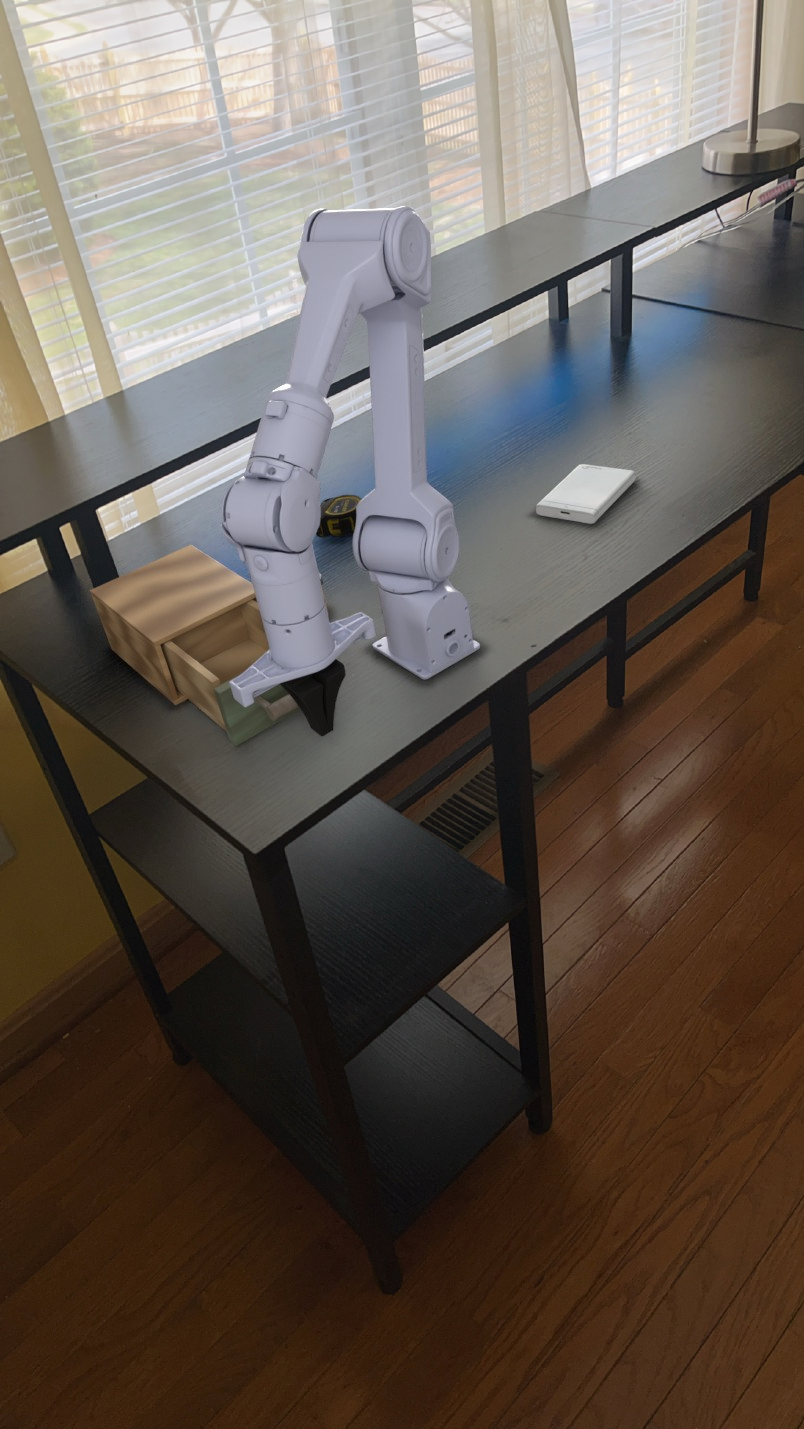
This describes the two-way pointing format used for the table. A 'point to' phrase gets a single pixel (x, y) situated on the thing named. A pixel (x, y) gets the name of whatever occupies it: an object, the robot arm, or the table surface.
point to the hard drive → (586, 493)
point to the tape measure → (338, 516)
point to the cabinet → (165, 608)
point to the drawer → (226, 671)
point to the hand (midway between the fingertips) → (322, 729)
